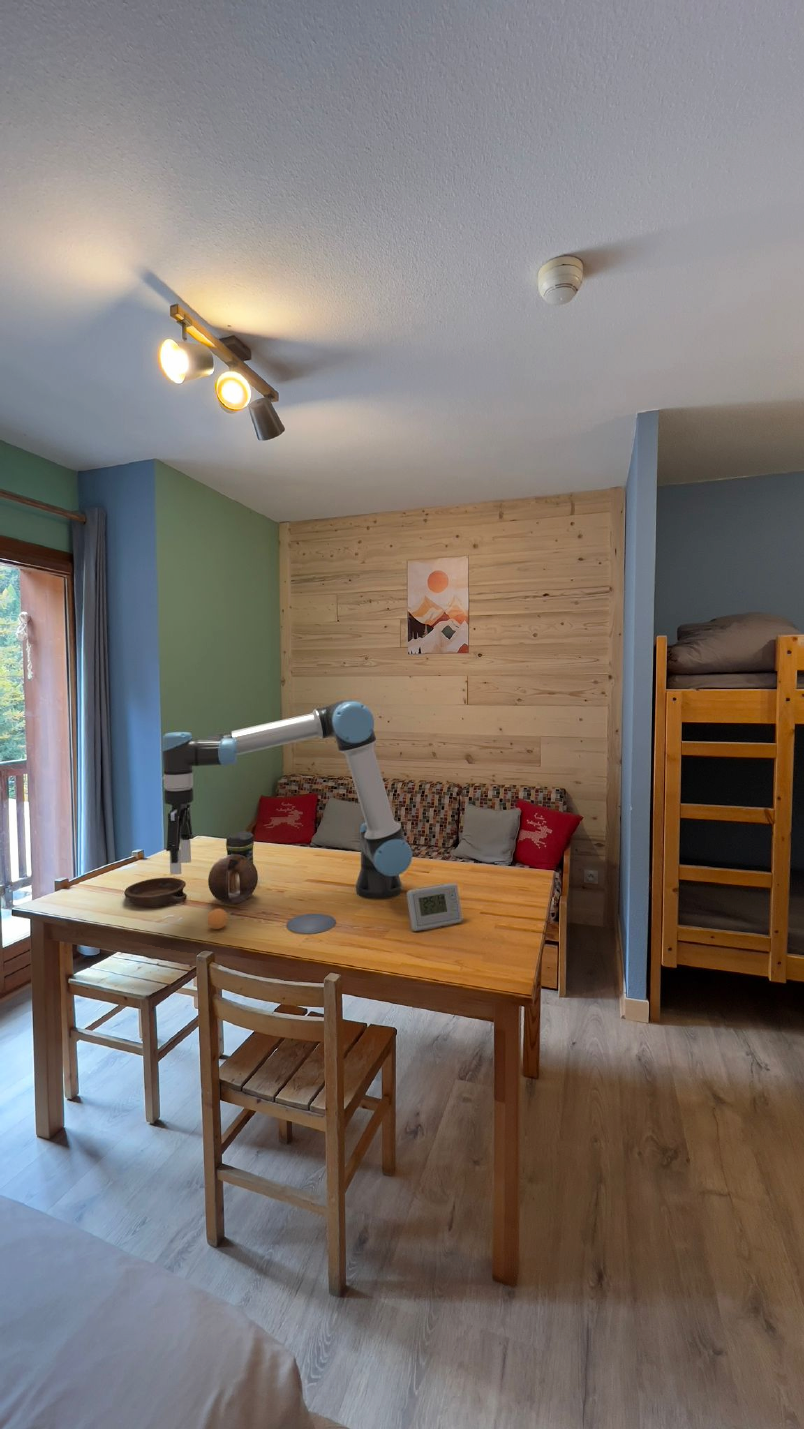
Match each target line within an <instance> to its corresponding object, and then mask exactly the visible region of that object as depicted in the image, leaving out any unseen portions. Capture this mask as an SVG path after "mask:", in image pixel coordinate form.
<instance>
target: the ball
mask: <svg viewBox="0 0 804 1429" xmlns="http://www.w3.org/2000/svg"><path fill="white" fill-rule="evenodd" d="M228 919H229V917H228V914H227V912H226V911H225V910H224V909H222V908H215V909H213V910H211V911H210V912H208V915H207V919H206V921H207V925H208V927H209V928H211V929H212V930H220V929H223V928H224V927H225V926H226V925H227V923H228Z"/></svg>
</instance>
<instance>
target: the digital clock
mask: <svg viewBox="0 0 804 1429" xmlns="http://www.w3.org/2000/svg"><path fill="white" fill-rule="evenodd" d="M406 901H407V909H408V915H409V921H410V928H411V931H413V932H419V931H427V930H428V929H429V930H433V929H439V928H442V927H441V926H444V927H449V926H452V925H454V924H459V923H461V922H463V913H462V908H461V902H460V901H461V900H460V896H459V889H458V886H457V883H454V882H453V883H446V884H444V883H443V884H442V883H441V884H435V885H432V886H431V885H429V886H425V887H419V888H416V889H410V890H407V891H406ZM438 927H439V928H438Z"/></svg>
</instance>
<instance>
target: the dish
mask: <svg viewBox="0 0 804 1429" xmlns="http://www.w3.org/2000/svg"><path fill="white" fill-rule="evenodd" d="M186 885H187V882H186V881H184V880H183V879H182V878H181V879H180V878H176V877H155V878H149V879H145V880H142V881H138V882H135V883H133V884H131V885H129V886H127V887H126V889H125V890H124V896H125V898H126V899H127V898H128V901H129V903H130V904H131V905H132V906H135V907H139V908H150V909H151V908H162V907H165V906H169V905H172V904H175V903H176V904H178V903H184V902H186V900H187V896H188V895H187V893H185V892H184V888H185V887H186Z"/></svg>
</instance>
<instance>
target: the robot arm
mask: <svg viewBox="0 0 804 1429" xmlns="http://www.w3.org/2000/svg"><path fill="white" fill-rule="evenodd" d="M374 728H375V718H374V715H373V714H372V712H371V710H370V708H368V707H367V706H366V705H365V704H363V703H362V702H360V701H357V700H340V701H337V702H335V703H332V704H329V705H326V706H323V707H319V708H315V709H313V711H312V712H311V713H307V714H303V715H298V716H293V717H290V718H289V717H287V718H285V719H281V720H276V721H270V722H266V723H262V724H257V725H253V726H248V727H245V728H239V729H236V730H231V731H226V732H222V733H213V734H211V735H208V736H207V737H206V738H201V739H198V738H196V739H195V738H193V737H192V733H191V732H188V731H177V732H176V731H175V732H167V733H165V734H164V735H163V737H162V742H163V743H162V763H163V767H162V768H163V776H162V777H161V780H162V781H163V788H164V789H165V790H164V791H163V799H164V800H163V801H164V803H165V804H166V805H171V810H170V812H168V813H167V839H166V840H167V841H166V845H167V846H166V848H165V851H166V852H169V874H170V875H181V874H182V864H187V863H191V862H192V850H191V849H192V848H191V847H192V846H191V845H192V844H191V840H193V839H194V834H193V829H192V827H193V826H192V820H191V819H192V818H191V803H192V802H193V801H194V789H193V788H192V787H193V786H194V774H193V772H194V770H193V768H194V767H202V766H203V767H204V766H205V767H206V766H207V767H208V766H209V767H211V766H223V767H224V766H229V765H235V764H236V763H237V761H238V760H237V759H238V758H237V756H239V755H243V754H248V753H252V752H256V751H261V750H265V749H270V748H274V747H278V746H283V745H286V744H287V745H288V744H290V743H295V742H299V741H304V740H308V739H312V738H319V739H321V740H322V739H326V738H328V739H329V738H334V739H335V742H336V746H337V748H338V749H337V750H338V752H339V753H342V754H344V755H345V758H346V762H347V764H348V768H349V772H350V775H351V778H352V781H353V785H354V787H355V792H356V795H357V797H358V802H359V805H360V808H361V812H362V815H363V819H364V822H363V823H362V824H361V825H360V831H359V835H360V838H359V840H360V870H359V873H358V877H357V880H356V883H355V893H356V894H357V896H360V897H362V898H365V899H371V900H382V899H384V900H385V899H388V898H393V897H396V896H399V895H400V894H401V893H402V892H403V891H402V890H403V888H402V887H403V886H402V880H401V877H400V875H402V874H404V872H406V871H407V870H408V869H409V866H410V865H411V863H412V860H413V859H412V858H413V852H412V849H411V846H410V844H409V843H408V842H407V841H406V838H405V834H404V830H403V829H402V828H403V827H402V825H401V823H400V822H397V821H395V818H394V815H393V812H392V807H391V804H390V801H389V798H388V794H387V791H386V787H385V783H384V780H383V777H382V774H381V769H380V767H379V766H380V765H379V762H378V760H377V756H376V753H375V748H374V746H375V744H376V743H377V736H376V733H375V731H374Z"/></svg>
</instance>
